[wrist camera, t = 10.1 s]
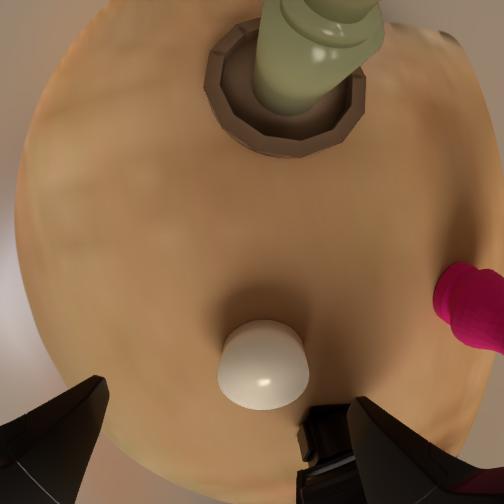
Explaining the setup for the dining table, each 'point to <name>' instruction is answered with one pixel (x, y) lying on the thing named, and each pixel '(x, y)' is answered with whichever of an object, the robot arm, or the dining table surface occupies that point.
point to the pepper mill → (472, 305)
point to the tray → (265, 122)
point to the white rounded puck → (263, 365)
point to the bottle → (311, 49)
